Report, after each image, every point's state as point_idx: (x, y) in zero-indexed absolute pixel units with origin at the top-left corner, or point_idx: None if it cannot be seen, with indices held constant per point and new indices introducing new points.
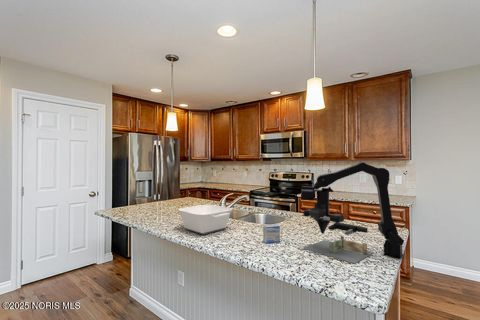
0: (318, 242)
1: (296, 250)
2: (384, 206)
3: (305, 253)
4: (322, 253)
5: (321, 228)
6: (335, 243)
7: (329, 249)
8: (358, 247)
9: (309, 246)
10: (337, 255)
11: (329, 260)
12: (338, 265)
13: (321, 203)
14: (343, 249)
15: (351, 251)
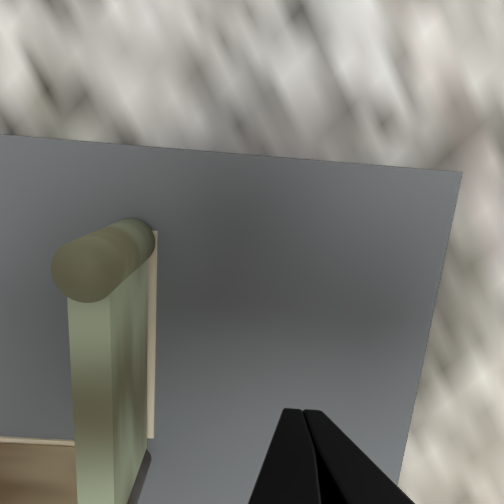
0: (396, 449)
1: (500, 45)
2: None
3: (365, 29)
4: (198, 151)
5: (338, 496)
6: (76, 347)
7: (135, 229)
8: None
9: (421, 265)
10: (49, 215)
11: (44, 21)
12: None
13: None
14: None
15: (20, 426)
